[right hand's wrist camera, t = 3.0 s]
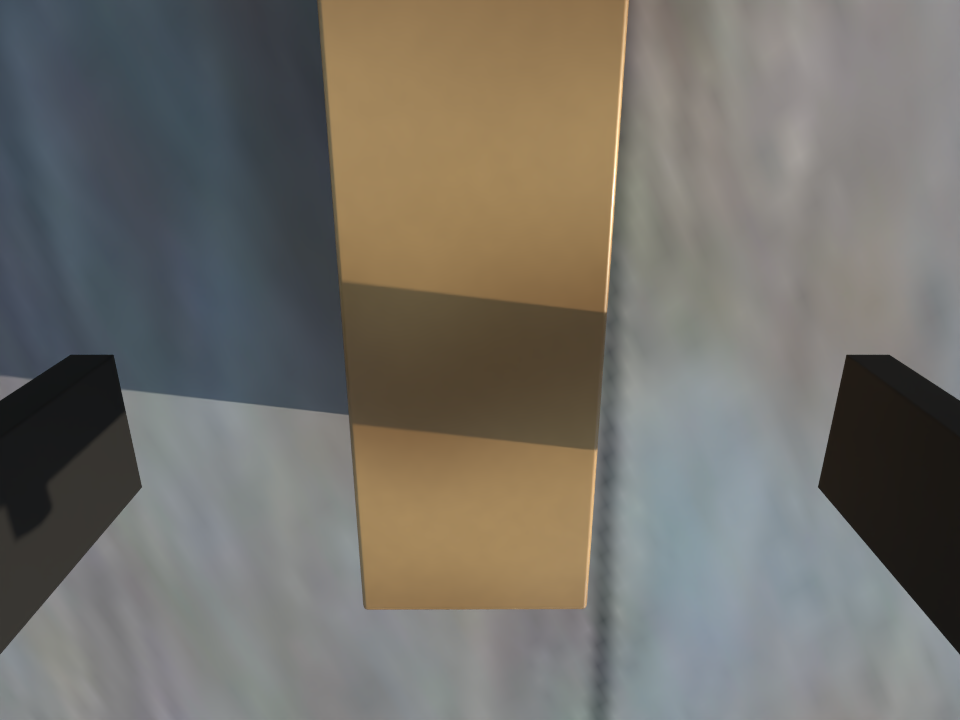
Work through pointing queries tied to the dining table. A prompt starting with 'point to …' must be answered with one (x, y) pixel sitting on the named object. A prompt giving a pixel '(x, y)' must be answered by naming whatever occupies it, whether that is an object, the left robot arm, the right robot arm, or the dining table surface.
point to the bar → (473, 287)
